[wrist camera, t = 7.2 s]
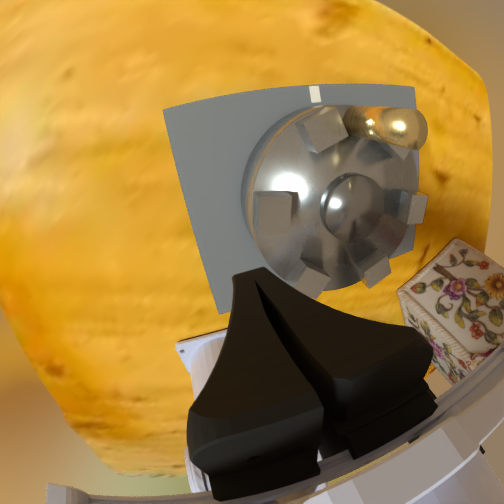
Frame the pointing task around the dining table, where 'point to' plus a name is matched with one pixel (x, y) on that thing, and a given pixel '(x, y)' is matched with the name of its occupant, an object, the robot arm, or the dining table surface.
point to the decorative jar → (457, 308)
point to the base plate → (235, 159)
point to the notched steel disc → (334, 193)
